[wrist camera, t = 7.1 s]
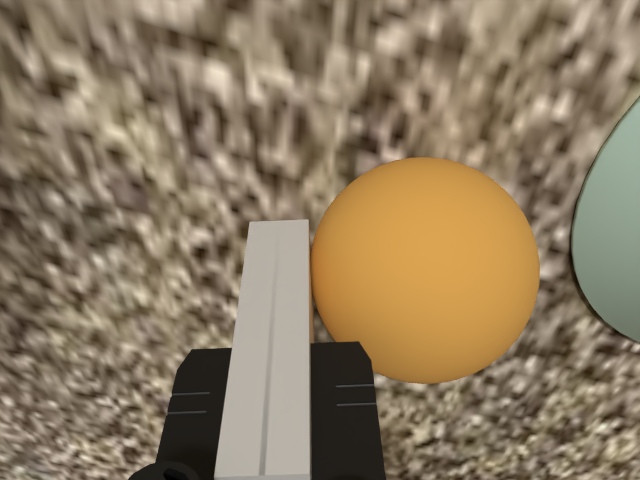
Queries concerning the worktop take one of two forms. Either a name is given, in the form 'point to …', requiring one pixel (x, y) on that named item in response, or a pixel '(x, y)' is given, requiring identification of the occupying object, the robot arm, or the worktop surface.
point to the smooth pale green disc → (612, 228)
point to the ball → (425, 269)
